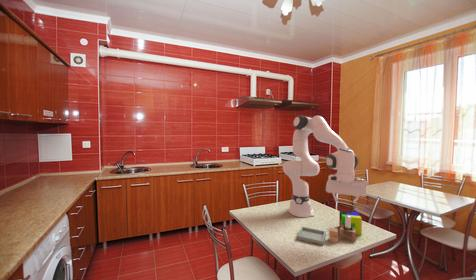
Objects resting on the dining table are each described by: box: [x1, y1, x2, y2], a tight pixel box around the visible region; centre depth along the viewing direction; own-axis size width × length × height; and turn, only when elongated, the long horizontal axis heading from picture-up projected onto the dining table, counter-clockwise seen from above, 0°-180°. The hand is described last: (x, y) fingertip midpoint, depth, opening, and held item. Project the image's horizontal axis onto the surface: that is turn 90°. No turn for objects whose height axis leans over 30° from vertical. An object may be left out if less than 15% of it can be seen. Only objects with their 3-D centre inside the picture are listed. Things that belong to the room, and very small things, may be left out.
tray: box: [296, 226, 327, 246], centre depth 118 cm, size 13×13×2 cm
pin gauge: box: [345, 215, 351, 230], centre depth 118 cm, size 3×3×12 cm
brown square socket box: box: [339, 225, 357, 242], centre depth 118 cm, size 8×8×5 cm
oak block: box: [328, 227, 339, 244], centre depth 115 cm, size 4×4×6 cm
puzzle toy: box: [338, 210, 363, 236], centre depth 127 cm, size 10×10×10 cm
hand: (345, 202), depth 117 cm, fingers open, 8 cm apart
